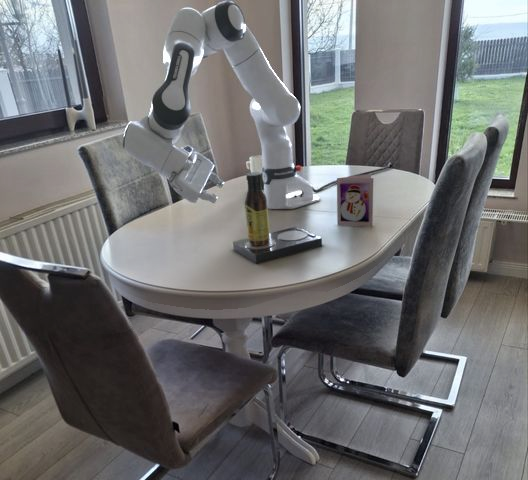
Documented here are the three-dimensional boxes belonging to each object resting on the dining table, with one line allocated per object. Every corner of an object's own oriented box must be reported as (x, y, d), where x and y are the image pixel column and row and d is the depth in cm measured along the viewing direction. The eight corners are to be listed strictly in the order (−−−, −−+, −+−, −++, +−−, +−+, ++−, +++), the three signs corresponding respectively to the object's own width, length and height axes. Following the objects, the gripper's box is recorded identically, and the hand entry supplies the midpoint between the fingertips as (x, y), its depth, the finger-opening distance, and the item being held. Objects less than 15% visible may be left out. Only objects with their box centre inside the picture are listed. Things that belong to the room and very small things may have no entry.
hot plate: (295, 234, 162) (295, 225, 160) (321, 246, 150) (321, 236, 149) (233, 250, 154) (232, 241, 152) (256, 263, 142) (255, 254, 140)
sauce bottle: (248, 241, 151) (241, 172, 141) (269, 238, 151) (263, 169, 142) (249, 248, 146) (242, 176, 136) (271, 245, 146) (265, 174, 136)
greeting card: (336, 226, 166) (336, 178, 158) (342, 219, 171) (342, 173, 164) (371, 227, 162) (372, 178, 154) (376, 220, 167) (377, 173, 160)
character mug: (274, 185, 225) (272, 154, 218) (269, 189, 219) (267, 158, 213) (251, 186, 228) (248, 155, 222) (245, 189, 222) (242, 158, 216)
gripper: (171, 173, 133) (217, 201, 137) (190, 142, 148) (231, 169, 152) (161, 191, 137) (206, 218, 141) (181, 160, 152) (221, 185, 156)
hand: (219, 192), depth 146 cm, fingers open, 8 cm apart
